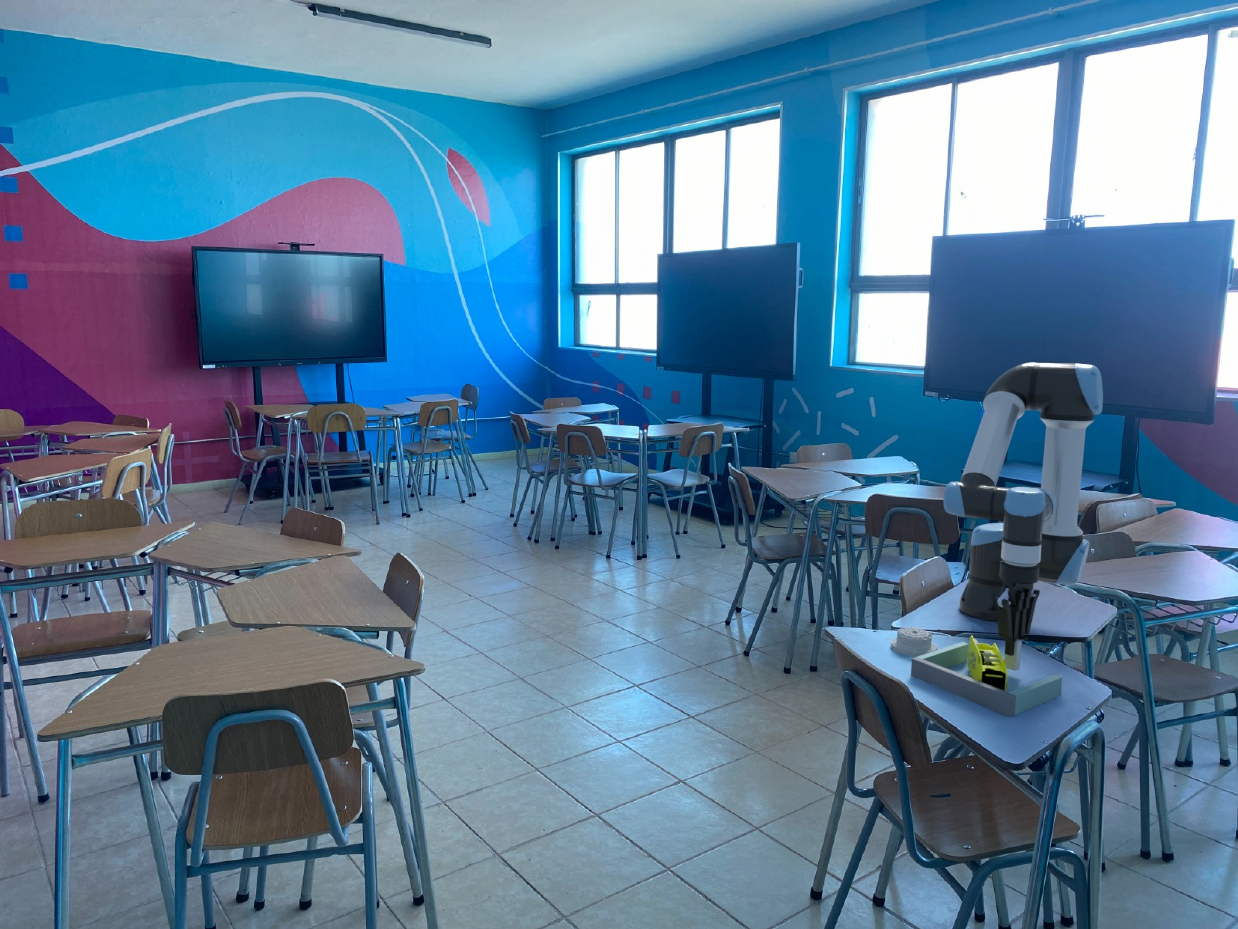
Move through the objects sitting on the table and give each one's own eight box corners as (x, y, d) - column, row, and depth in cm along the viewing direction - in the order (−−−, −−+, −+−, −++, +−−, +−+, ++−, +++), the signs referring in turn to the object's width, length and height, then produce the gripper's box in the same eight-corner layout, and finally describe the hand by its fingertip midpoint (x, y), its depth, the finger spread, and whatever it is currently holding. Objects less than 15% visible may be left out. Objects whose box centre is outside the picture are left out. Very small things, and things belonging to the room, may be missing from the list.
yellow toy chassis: (964, 668, 190) (967, 632, 188) (992, 671, 188) (995, 634, 187) (976, 699, 174) (979, 659, 173) (1006, 702, 173) (1010, 662, 172)
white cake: (941, 659, 195) (930, 643, 205) (942, 640, 194) (931, 625, 204) (896, 657, 196) (887, 641, 206) (897, 639, 195) (888, 623, 205)
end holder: (961, 658, 194) (962, 641, 194) (1060, 695, 176) (1062, 677, 175) (910, 676, 185) (911, 658, 184) (1010, 717, 166) (1011, 697, 165)
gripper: (1021, 552, 188) (1013, 655, 192) (985, 562, 181) (977, 668, 185) (1055, 561, 182) (1045, 667, 186) (1018, 571, 175) (1009, 681, 179)
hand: (1011, 668), depth 185 cm, fingers closed
